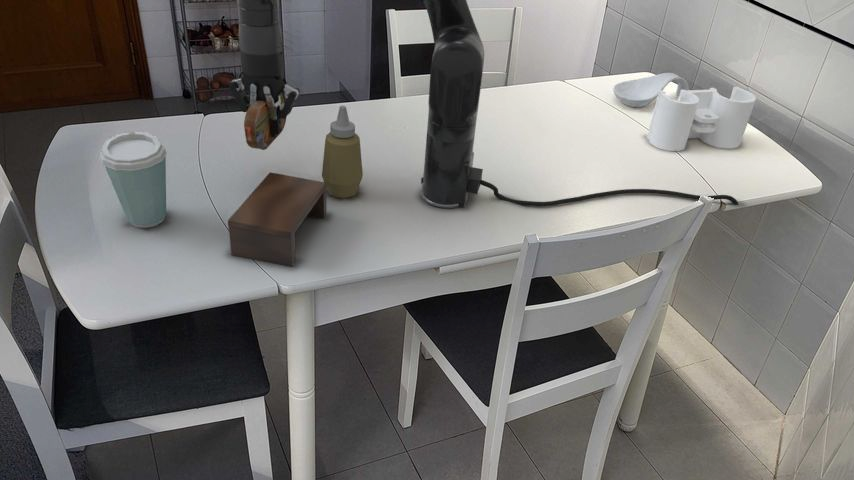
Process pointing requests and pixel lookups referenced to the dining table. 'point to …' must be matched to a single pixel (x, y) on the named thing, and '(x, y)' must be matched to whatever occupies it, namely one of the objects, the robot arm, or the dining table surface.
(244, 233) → the stand
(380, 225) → the dining table surface
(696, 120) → the bracket
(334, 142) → the squeeze bottle
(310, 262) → the dining table surface
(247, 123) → the tin
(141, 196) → the disposable coffee cup
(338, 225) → the dining table surface
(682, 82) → the spoon rest
